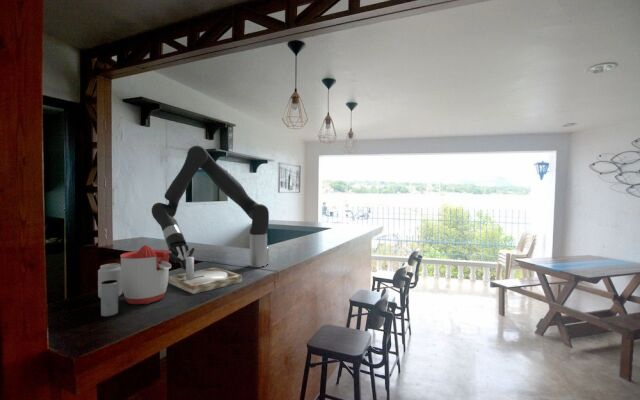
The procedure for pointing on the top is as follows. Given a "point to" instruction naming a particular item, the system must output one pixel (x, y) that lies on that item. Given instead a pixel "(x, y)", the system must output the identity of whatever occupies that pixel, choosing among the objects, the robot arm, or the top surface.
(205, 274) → the dial
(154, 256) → the citrus juicer
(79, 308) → the top surface
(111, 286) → the grey tall cylinder
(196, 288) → the dial housing
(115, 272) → the can
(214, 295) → the top surface
